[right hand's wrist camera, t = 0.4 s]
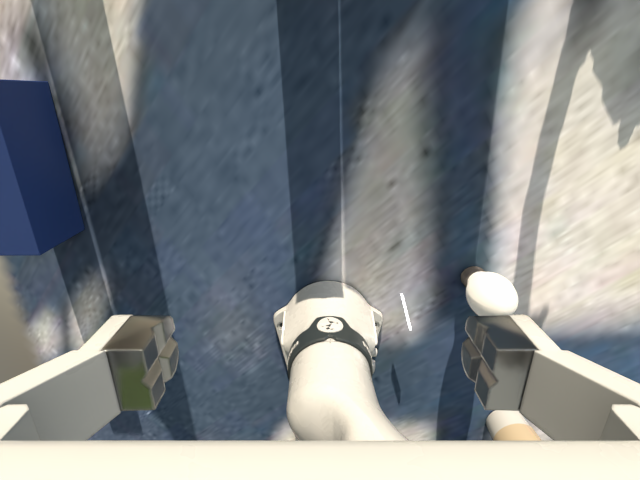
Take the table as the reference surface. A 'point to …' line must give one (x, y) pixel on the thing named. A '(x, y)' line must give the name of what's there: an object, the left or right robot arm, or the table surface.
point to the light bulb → (489, 292)
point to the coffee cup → (510, 427)
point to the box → (33, 172)
